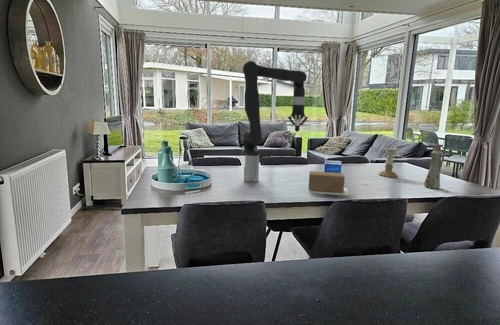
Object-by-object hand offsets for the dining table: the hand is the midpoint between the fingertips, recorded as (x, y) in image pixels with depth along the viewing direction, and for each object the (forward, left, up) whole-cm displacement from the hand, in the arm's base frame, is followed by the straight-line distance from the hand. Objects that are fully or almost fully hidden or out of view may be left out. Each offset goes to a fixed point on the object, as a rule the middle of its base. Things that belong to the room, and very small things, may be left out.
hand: (297, 131), depth 208 cm
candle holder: (+67, +34, -33) cm, 82 cm away
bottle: (+87, +6, -33) cm, 93 cm away
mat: (+21, -18, -33) cm, 43 cm away
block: (+9, -18, -28) cm, 34 cm away
